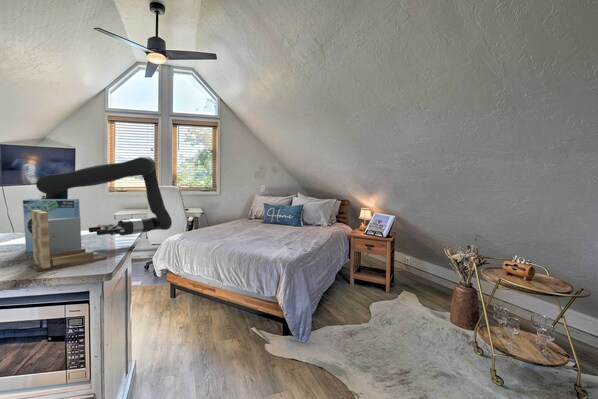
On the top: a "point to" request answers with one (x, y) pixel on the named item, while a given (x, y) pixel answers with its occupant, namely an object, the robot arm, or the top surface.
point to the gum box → (54, 210)
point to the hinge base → (55, 260)
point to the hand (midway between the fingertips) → (93, 231)
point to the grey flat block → (64, 234)
